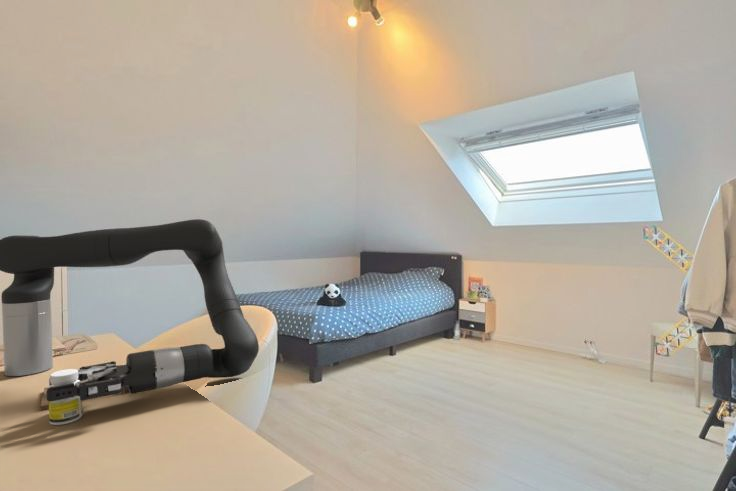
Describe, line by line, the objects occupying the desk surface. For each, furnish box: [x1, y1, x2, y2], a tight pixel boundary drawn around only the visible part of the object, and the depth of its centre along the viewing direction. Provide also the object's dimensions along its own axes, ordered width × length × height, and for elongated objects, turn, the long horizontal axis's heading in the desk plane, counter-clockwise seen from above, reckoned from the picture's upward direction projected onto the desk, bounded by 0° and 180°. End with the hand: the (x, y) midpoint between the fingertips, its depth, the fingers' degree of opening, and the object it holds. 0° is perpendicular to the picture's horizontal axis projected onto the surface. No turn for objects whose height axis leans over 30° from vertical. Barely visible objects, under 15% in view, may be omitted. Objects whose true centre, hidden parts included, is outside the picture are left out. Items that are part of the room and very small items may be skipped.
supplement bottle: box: [48, 368, 84, 426], centre depth 72 cm, size 5×5×8 cm
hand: (48, 388), depth 71 cm, fingers open, 6 cm apart
